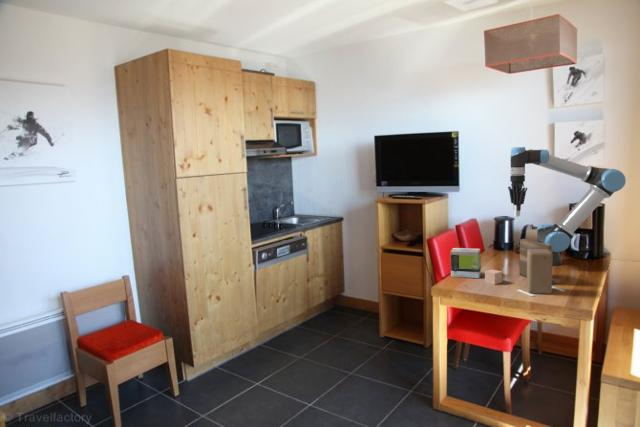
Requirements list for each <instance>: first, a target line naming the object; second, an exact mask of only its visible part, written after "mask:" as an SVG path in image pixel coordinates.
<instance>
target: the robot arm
mask: <svg viewBox="0 0 640 427" xmlns="http://www.w3.org/2000/svg"><path fill="white" fill-rule="evenodd" d="M526 164H527V165H528V164H529V165H531V164H532V165H536V166H539V167H543V168H544V169H545V168H546V169H549V170H551V171H555V172H559V173H561V174H564V175H568V176H569V177H570V176H571V177H574V178H577V179H580V180H581V182H583V183H586V184H587V185H588V184H589V190H587V192H586V193H585V194H584V195H583V196H582V197H581V199H579V201H578V202H577V203H576V204H575V205H574V206H573V207H572V208H571V209H570V211H569V212H568V213H567V214H566V215H565V216H564V217H563V219H561V221H560V222H556V223H554V224H550V223H549V224H546V223H545V224H538V225H537V228H536V242H539V243H544V244H548V245H552V246H553V247H552V255H553V261H552V266H560V265H562V264H563V259H562V257H561V253H560V252H564V251H566V249H568V248H569V247H570V244H571V240H572V239H573V238H574V237H575V231H576V230H577V229H578V228H579V227H580V226H581V225H582V224H583V223H584V222H585V221H586V219H587V218H589V216H590V215H591V214H592V213H593V212H594V210H596V209H597V207H598V206H599V205H600V204H601V203H603V201H604V200H605V199H609V198H610V197H611V196H612V195H613V194H614V193H615V192H616V193H617V192H618V191H620V190H622V189H623V188H624V187H625V185H626V180H627V179H626V176H625V174H624V173H623V172H622V171H621V170H619V169H616V168H606V167H595V166H592V165H587V166H585V165H582V164H580V163H576V162H573V161H570V160H567V159H564V158H560V157H558V156H555V155H551V154H550V151H549V150H548V149H531V148H530V149H526V147H525V146H517V147H515V146H514V147H512V148H511V149H510V178H509V179H510V180H509V181H510V182H511V184H510V186H507V189H508V191H509V198H510V204H513V212H514V214H513V215H514V217H516V218H517V217H520V216H521V210H522V208H521V207H522V205H524V204H525V199H526V194H527V191H528V187H526V186H525V181H526V176H525V174H526Z"/></svg>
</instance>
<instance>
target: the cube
mask: <svg viewBox="0 0 640 427" xmlns="http://www.w3.org/2000/svg"><path fill="white" fill-rule="evenodd" d="M484 283H487V284H490V283H491V284H490V285H493V284H494V285H495V284H496V285H498V283H499V284H502V283H503V271H501V270H498V269H497V270H496V269H489V270H485V271H484Z"/></svg>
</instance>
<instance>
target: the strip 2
mask: <svg viewBox="0 0 640 427" xmlns="http://www.w3.org/2000/svg"><path fill="white" fill-rule="evenodd" d="M553 289H554V290H557V291H559V292H565V290H564V289H562V288H559V287H556V286H553V285H552V290H553Z"/></svg>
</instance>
